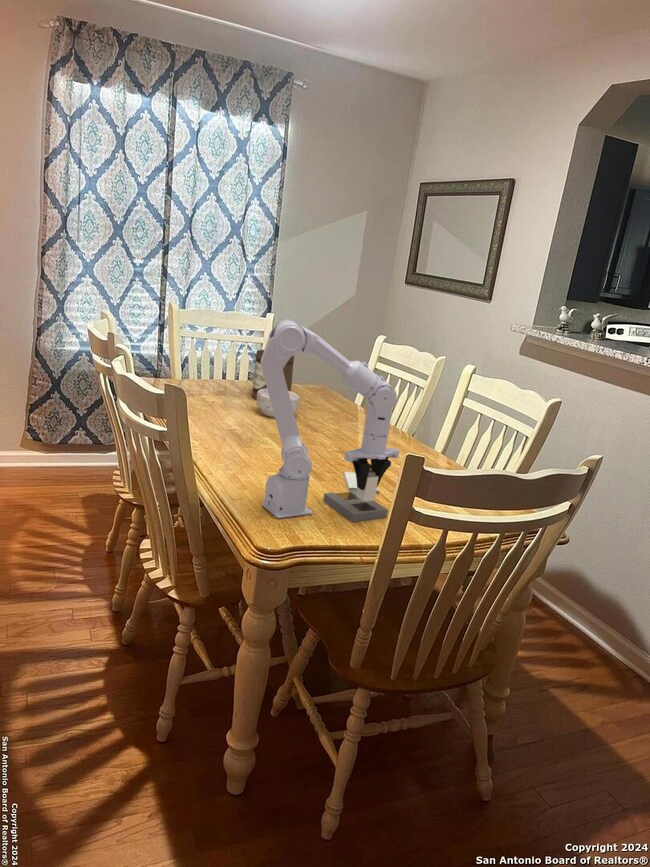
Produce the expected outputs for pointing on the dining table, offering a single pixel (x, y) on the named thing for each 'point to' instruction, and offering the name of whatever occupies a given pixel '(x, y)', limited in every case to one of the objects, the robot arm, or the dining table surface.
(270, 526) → the dining table surface
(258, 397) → the paper bowls
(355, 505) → the socket panel
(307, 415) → the dining table surface
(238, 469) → the dining table surface
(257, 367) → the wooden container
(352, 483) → the hard drive
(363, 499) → the plug
